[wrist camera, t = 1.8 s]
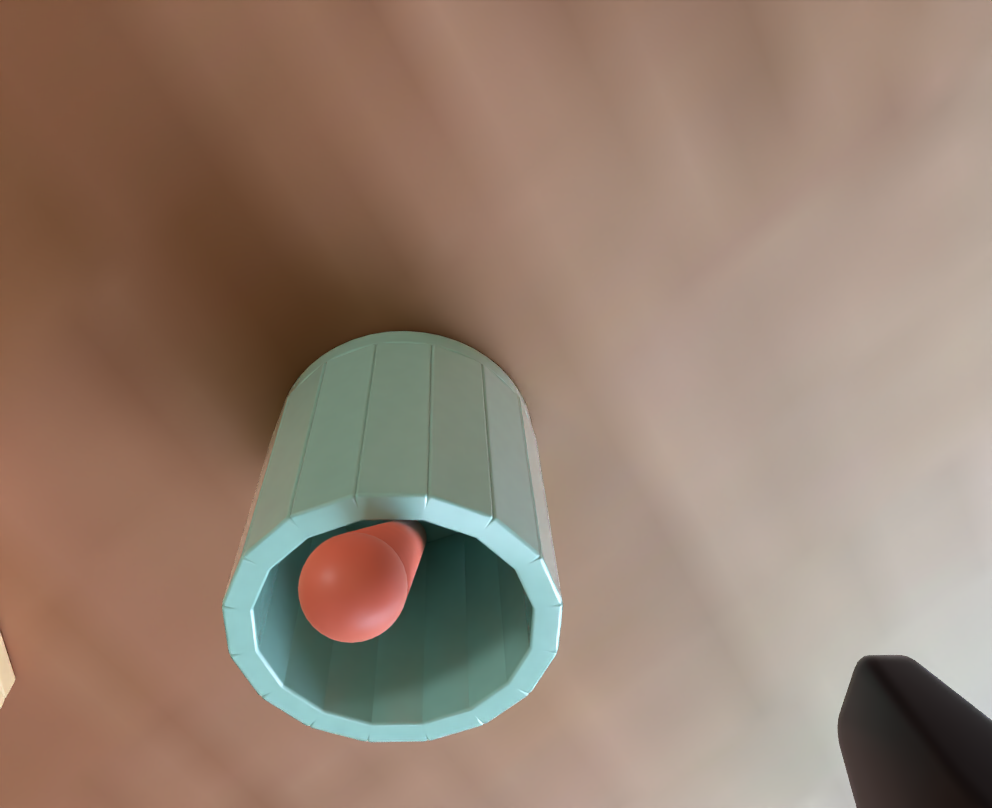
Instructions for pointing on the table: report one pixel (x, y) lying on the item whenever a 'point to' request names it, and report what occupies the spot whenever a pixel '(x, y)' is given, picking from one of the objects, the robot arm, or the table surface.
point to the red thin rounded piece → (361, 579)
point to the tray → (5, 673)
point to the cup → (401, 496)
